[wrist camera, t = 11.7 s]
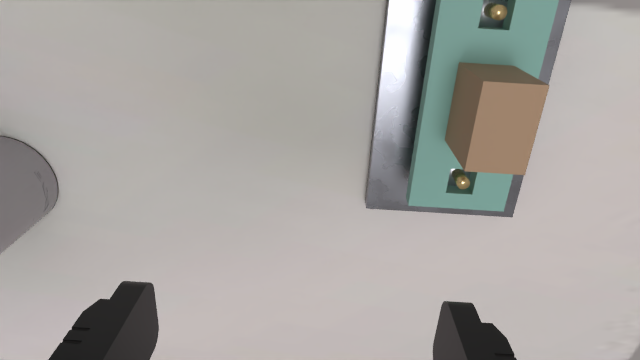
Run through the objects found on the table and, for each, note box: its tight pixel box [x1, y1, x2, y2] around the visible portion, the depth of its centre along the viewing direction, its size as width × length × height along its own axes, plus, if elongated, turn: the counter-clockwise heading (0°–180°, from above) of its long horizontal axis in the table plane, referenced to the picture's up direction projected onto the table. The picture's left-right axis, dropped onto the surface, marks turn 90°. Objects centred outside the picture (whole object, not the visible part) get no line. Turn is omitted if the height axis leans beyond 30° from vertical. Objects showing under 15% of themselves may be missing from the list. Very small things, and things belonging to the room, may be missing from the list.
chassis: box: [365, 0, 571, 217], centre depth 37 cm, size 14×24×6 cm, turn 177°
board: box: [406, 0, 559, 212], centre depth 32 cm, size 18×8×8 cm, turn 177°
